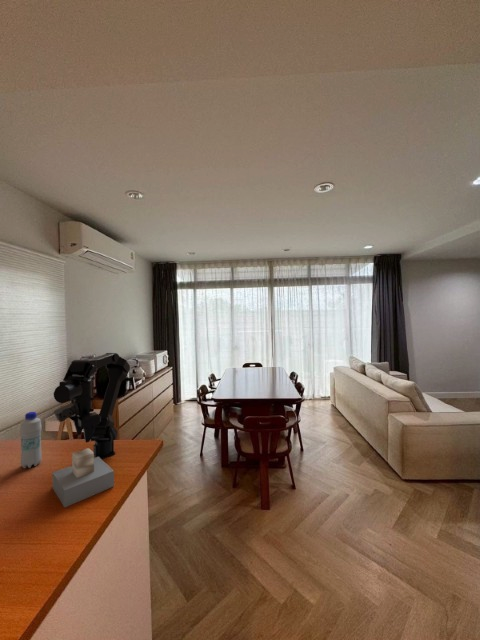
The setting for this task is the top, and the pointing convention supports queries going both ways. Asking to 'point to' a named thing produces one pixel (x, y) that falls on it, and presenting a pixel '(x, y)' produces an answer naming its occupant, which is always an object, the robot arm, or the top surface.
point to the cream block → (82, 462)
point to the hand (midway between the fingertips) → (83, 438)
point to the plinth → (82, 483)
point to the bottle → (30, 440)
